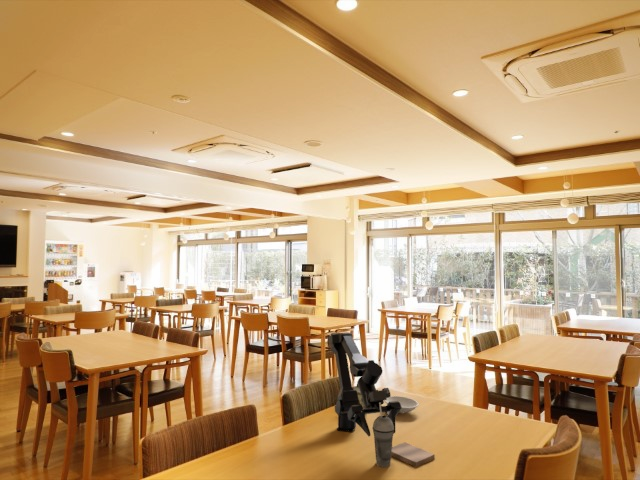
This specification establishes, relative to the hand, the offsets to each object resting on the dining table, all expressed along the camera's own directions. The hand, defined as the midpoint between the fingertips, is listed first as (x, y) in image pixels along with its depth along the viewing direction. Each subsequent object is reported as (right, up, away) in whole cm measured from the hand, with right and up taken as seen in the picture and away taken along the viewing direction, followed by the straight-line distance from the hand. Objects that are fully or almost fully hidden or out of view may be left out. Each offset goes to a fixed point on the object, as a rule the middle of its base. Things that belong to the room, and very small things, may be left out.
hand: (382, 434), depth 144 cm
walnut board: (+10, -10, +5) cm, 15 cm away
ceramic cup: (-1, -13, +52) cm, 54 cm away
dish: (+16, -13, +50) cm, 54 cm away
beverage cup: (0, -9, -1) cm, 10 cm away
